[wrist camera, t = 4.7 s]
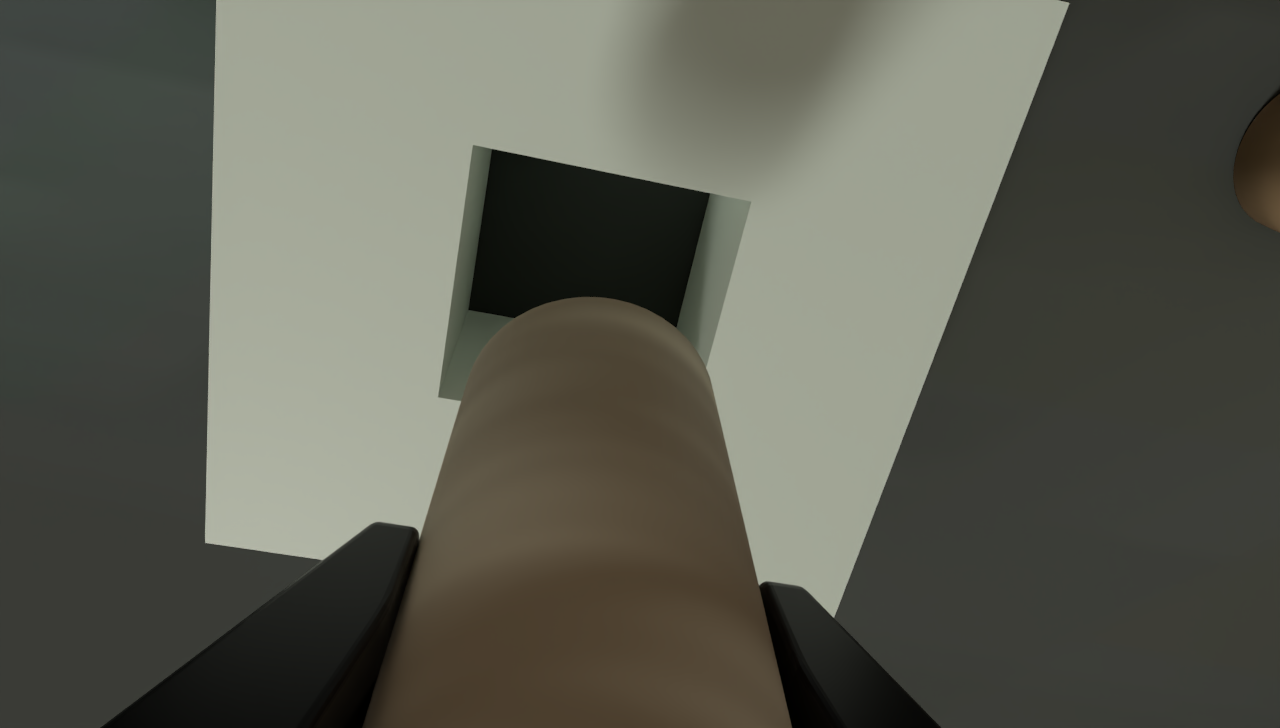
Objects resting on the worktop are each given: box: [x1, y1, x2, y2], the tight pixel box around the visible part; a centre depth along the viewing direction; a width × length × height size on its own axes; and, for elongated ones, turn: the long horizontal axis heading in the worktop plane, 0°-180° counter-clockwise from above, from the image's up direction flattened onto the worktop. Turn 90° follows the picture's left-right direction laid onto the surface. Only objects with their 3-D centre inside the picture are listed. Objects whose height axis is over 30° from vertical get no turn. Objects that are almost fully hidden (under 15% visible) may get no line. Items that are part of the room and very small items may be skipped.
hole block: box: [205, 0, 1069, 618], centre depth 17 cm, size 12×12×4 cm
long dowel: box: [362, 297, 792, 728], centre depth 7 cm, size 3×3×10 cm
